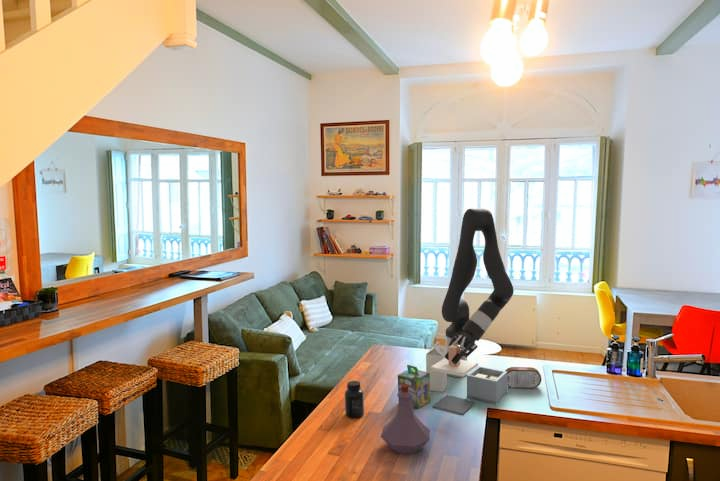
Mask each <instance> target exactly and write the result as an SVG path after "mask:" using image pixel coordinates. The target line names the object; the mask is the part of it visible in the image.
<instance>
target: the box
mask: <svg viewBox="0 0 720 481" xmlns="http://www.w3.org/2000/svg"><path fill="white" fill-rule="evenodd" d="M507 395H508V386H507V371H505V370H501V369H496V368H491V367H485V366H480V365H478V366H477V367H476V368H474V369H473V370H472V371H470V372H469V373H468V374H467V375H466V399H468V398H469V399H470V400H474V401H480V402H485V403H490V404H492V405H496V404H497V403H498V404H499V402H501V400H503V398H505V396H507ZM498 404H497V405H498Z"/></svg>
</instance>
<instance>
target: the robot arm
mask: <svg viewBox="0 0 720 481" xmlns="http://www.w3.org/2000/svg"><path fill="white" fill-rule="evenodd" d="M460 227H461V228H460V234H459V237H460V238H459V241H458V242H459V243H458V247H457V251H456V256H455V259H454V263H453V267H452V272H451V277H450V281H449V284H448V288H447V292H446V294H445V297H444V299H443V303H442V305H441V316H442V318H443V320H444V321H445V322H447V323H451V324H450V325H449V326H448V327H447V328H446V329H445V350H446V351H447V354H446V355H445V358H446V359H447V360H449V353H448V347H449V346H451V345H456V346H460V349H459V351H458V353H456V355H455V356H454V357H453V359H452V360H451V361H452V362H453V363H454V364H457V363H458V361H459V360H465V361H468V357H469V356H470V354H472V353H473V352H474V351H475V350H476V349H477V348H478V345H477V344H476V341H477V342H479V341H480V340H481V338H482V337H483V335H485V333H486V332H487V331H488V329H489V328H490V327H491V325H492V323H493V321H495V320H496V318H497V317H498V315H499V313H500V312H501V310H502V309H503V308H504V307H505V306H506V305H507V304H508V303H509V301H510V300H511V299H512V297H513V295H514V291H515V290H514V287H513V284H512V281H511V278H510V277H509V276H508V275H509V274H507V271H506V268H505V265H504V262H503V258H502V256H501V253H500V248H499V245H498V244H499V243H498V237H497V232H496V225H495V220H494V216H493V213H492V212H491V210H489V209H488V208H473V207H472V208H468V209H466V211H465V212H464V214H463V216H462V221H461V226H460ZM476 232H481V233H482V235H483V238H484V249H483V254H482V255H483V256H482V259H483V264H484V267H485V271H486V273H487V276H488V278H489V279H490V280H491V283H492V287H493V291H492V292H491V293H490V295H489V296H488V298H487V299H486V300H484V301H483V302H482V303H481V305H480V306H479V307H478V308H477V310H476V311H475V312H474V313H473V314H472V315H471V316H470V306H469V304H468V302H467V301H466V300H465V299H462V296H463V293H464V292H465V290H466V289H467V288H468V286H469V285H470V283H471V282H472V280H474V279H473V278H474V277H475V273H476V270H477V266H478V257H477V254H476V250H475V248H474V237H475V235H476ZM447 376H449V377H452V378H461V377H463V376H458V375H453V374H448V373H447ZM465 376H466V377H467V374H466V375H465ZM465 376H464V377H465Z"/></svg>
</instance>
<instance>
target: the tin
mask: <svg viewBox="0 0 720 481" xmlns="http://www.w3.org/2000/svg"><path fill="white" fill-rule="evenodd" d="M504 371H507V388H508V387H509V388H511V389H525V390H526V389H528V390H529V389H531V390H533V389H537V387H539V386H540V385H541V383H542V375H541V373H540V371H539V370H538V369H537V368H535V367H527V366H526V367H525V366H524V367H523V366H521V367H520V366H511V367H508V368H506V369H505V370H504Z"/></svg>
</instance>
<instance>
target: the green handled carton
mask: <svg viewBox="0 0 720 481" xmlns="http://www.w3.org/2000/svg"><path fill="white" fill-rule="evenodd" d="M406 368H407V370H404V371H402V372H401V373H398V374H397V393H398V392H400V391H401V385H403V384H407V385H409V388H408V391H410V392H411V393H413V395H412V398H411V405H412V408H413V409H414V410H418V409H420V408H422V407H423V406H426V404H429V402H431V390H430V373H428V372H426V371H425V370H419V369H418V367H417V366H414V365H411V364H410V365H409V364H407V365H406ZM397 398H398V397H397ZM399 401H400V400H399V398H398V402H399Z"/></svg>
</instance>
